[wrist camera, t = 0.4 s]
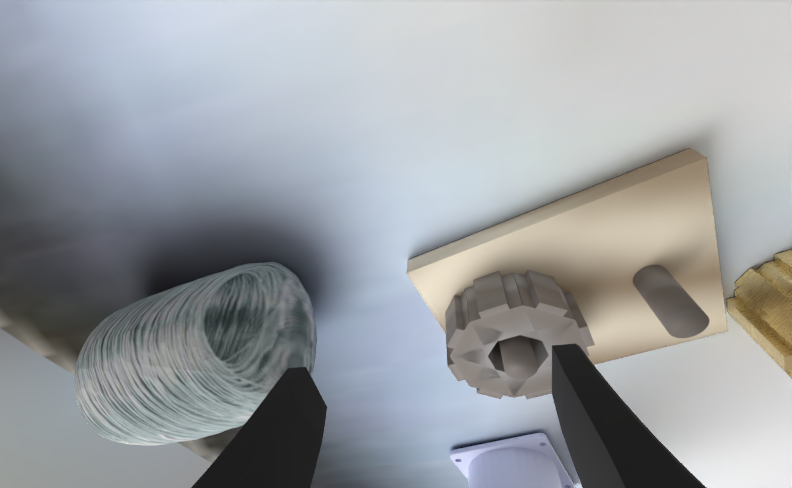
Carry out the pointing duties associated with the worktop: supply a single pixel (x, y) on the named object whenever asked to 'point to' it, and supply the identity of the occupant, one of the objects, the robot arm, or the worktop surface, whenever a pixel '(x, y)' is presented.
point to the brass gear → (767, 307)
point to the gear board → (580, 279)
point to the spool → (195, 355)
